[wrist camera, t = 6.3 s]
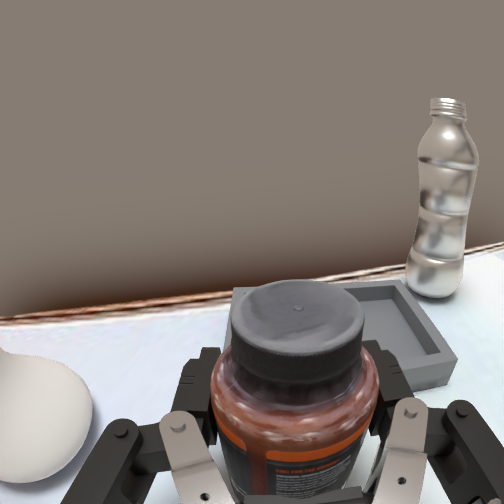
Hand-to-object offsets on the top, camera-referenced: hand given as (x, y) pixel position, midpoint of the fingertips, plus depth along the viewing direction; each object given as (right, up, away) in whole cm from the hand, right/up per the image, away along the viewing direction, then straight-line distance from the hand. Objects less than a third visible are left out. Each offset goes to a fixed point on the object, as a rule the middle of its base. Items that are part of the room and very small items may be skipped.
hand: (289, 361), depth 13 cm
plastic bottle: (+18, 0, +17) cm, 25 cm away
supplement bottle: (0, -8, +1) cm, 8 cm away
